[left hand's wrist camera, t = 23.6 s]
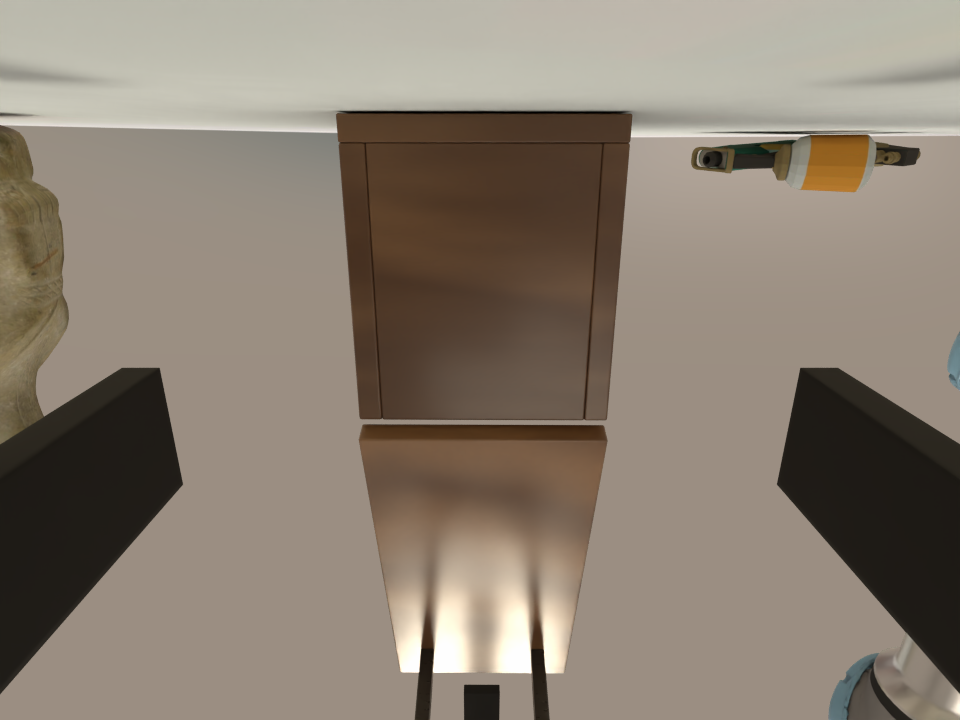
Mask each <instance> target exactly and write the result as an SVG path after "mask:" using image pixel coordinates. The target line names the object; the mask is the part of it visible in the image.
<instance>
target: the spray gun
mask: <svg viewBox="0 0 960 720" xmlns="http://www.w3.org/2000/svg"><path fill="white" fill-rule="evenodd" d="M699 150H702V151H701V153H700V155H699V162H700V164H701V166H703V167H699V166H698V165H697V161H696V160H697V154H698V151H699ZM919 157H920V151H919V148H908V147H901V146H894V145H889V144H886V143H879V142H874V141H873V139H872V138H871V137H870V136H869V135H808V136H804V137H801V138H799V139H798V140H784V141H776V142H763V143H751V144H739V145H727V146H720V147H712V148H711V147H698V148H695V149H694V151H693V153H692V160H691V164H692V167H693V168H694V169H697V170H707V171H716V172H725V173H731V172H732V171H733V170H742V169H757V168H773V172H774V173H775V175H776V178H777V180H786V182H787V183H788V184H789V185H790V187H793V188H796V189H799V190H818V191H840V192H856V191H859V190H860V189H861V188H862V187H864V186H865V185H866V184H867V182H868V181H869V179H870V176H871V174H872V171H873V168H874V166H883V165H895V166H907V165H914V164H916V160H917V159H918V158H919ZM707 167H708V168H707ZM709 167H712V168H709Z"/></svg>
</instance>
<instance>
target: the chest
mask: <svg viewBox="0 0 960 720" xmlns="http://www.w3.org/2000/svg"><path fill="white" fill-rule="evenodd" d="M336 119H337V132H338V141H339V142H340V143H339V155H340V168H341V181H342V194H343V207H344V220H345V233H346V246H347V259H348V272H349V285H350V298H351V311H352V324H353V337H354V350H355V363H356V376H357V389H358V402H359V415H360V419H382V418H383V419H425V420H583V419H585V420H606V419H607V412H608V400H609V387H610V376H611V363H612V352H613V340H614V328H615V316H616V304H617V292H618V280H619V268H620V256H621V244H622V232H623V220H624V208H625V196H626V184H627V172H628V160H629V148H630V144H629V142H630V138H631V126H632V114H392V113H338V114H336Z"/></svg>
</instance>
